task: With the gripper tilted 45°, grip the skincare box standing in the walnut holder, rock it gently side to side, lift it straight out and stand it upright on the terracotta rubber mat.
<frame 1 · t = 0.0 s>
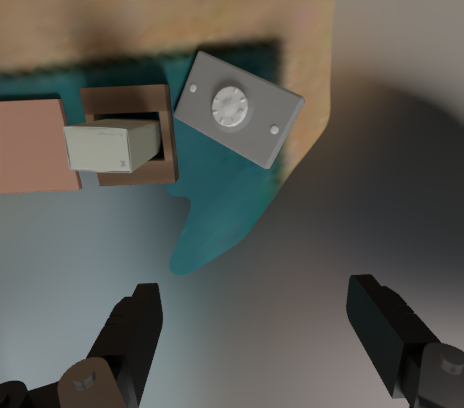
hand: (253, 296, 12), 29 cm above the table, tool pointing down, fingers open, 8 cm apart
skincare box: (137, 135, 38), resting in walnut holder
walnut holder: (137, 135, 38), on the table
terracotta mat: (28, 148, 38), on the table
light switch: (232, 108, 37), on the table
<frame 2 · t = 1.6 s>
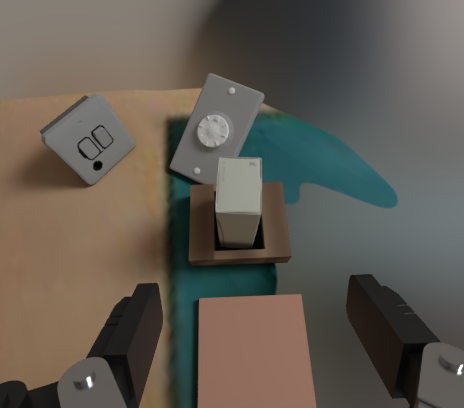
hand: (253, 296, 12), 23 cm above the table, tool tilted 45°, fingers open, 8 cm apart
skincare box: (238, 227, 38), resting in walnut holder
walnut holder: (238, 226, 38), on the table
electrical switch: (103, 158, 43), on the table
terracotta mat: (253, 353, 31), on the table
light switch: (217, 150, 43), on the table
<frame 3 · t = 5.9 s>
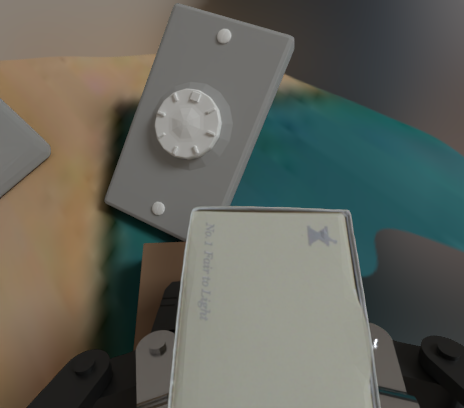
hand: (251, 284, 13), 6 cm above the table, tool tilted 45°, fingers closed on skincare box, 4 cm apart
skincare box: (249, 332, 17), resting in walnut holder, touching gripper
walnut holder: (249, 333, 17), on the table
light switch: (200, 162, 23), on the table
when the fingers open (8 cm above the table, at t = 13.1 s): skincare box drops 1 cm, resting on terracotta mat.
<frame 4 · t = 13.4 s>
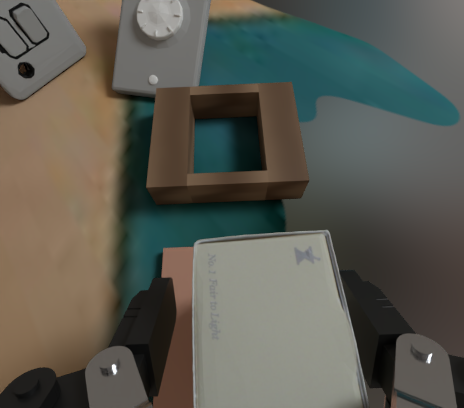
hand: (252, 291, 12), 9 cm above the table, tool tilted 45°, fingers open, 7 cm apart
skincare box: (251, 337, 19), point 1 cm above the table, touching terracotta mat
walnut holder: (227, 151, 26), on the table
electrical switch: (41, 71, 31), on the table
terracotta mat: (248, 333, 19), on the table
light switch: (172, 58, 31), on the table
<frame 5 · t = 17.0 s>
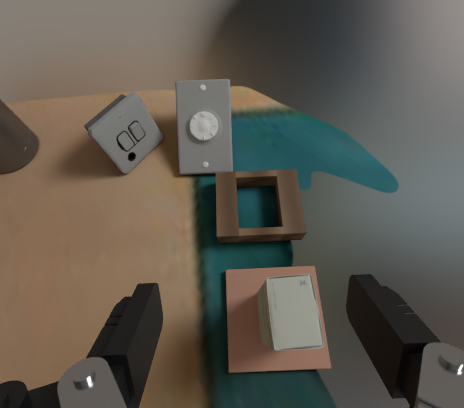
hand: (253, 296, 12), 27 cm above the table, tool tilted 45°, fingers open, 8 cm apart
skincare box: (275, 317, 36), point 1 cm above the table, touching terracotta mat
walnut holder: (257, 209, 43), on the table
electrical switch: (134, 151, 48), on the table
terracotta mat: (274, 315, 36), on the table
light switch: (207, 143, 48), on the table
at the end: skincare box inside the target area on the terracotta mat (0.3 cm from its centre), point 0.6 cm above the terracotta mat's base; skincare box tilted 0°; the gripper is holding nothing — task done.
